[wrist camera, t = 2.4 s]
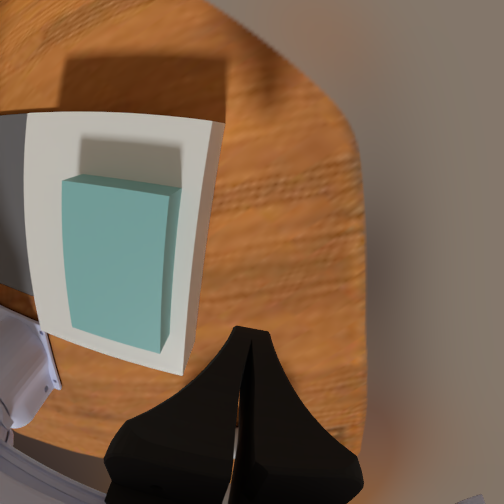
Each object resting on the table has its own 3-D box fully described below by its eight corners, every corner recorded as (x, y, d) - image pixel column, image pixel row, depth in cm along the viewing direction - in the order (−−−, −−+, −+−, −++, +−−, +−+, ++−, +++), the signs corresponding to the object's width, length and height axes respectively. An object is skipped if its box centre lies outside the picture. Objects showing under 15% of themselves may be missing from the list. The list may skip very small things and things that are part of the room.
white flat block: (194, 341, 23) (182, 375, 20) (65, 305, 23) (41, 330, 20) (225, 123, 17) (212, 121, 14) (63, 112, 17) (27, 113, 14)
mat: (61, 304, 23) (59, 305, 23) (-8, 277, 23) (-9, 279, 23) (58, 112, 17) (56, 112, 17) (-16, 117, 17) (-18, 117, 17)
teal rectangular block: (169, 333, 18) (160, 353, 17) (86, 310, 18) (72, 327, 16) (181, 188, 15) (169, 196, 13) (82, 174, 15) (61, 180, 13)
